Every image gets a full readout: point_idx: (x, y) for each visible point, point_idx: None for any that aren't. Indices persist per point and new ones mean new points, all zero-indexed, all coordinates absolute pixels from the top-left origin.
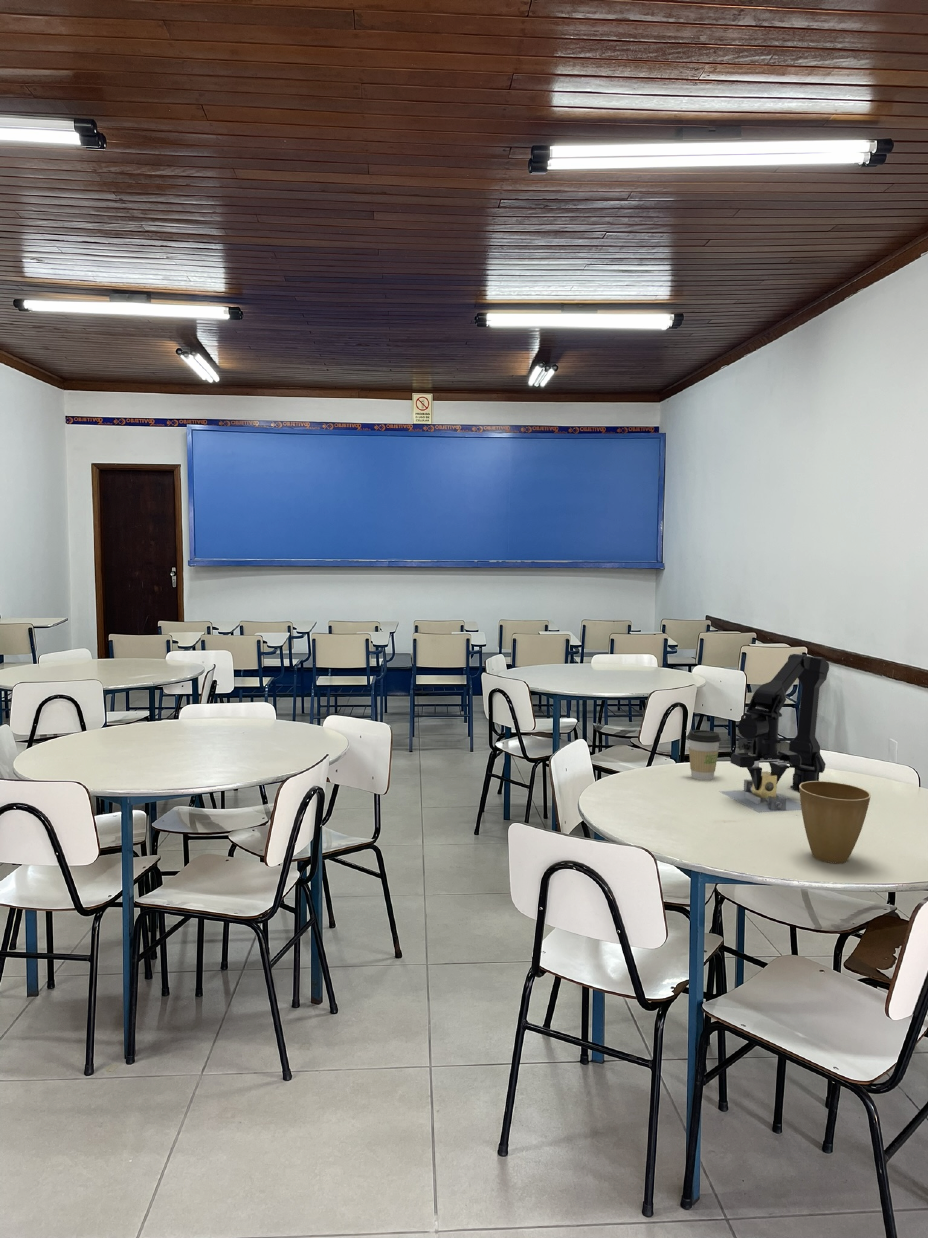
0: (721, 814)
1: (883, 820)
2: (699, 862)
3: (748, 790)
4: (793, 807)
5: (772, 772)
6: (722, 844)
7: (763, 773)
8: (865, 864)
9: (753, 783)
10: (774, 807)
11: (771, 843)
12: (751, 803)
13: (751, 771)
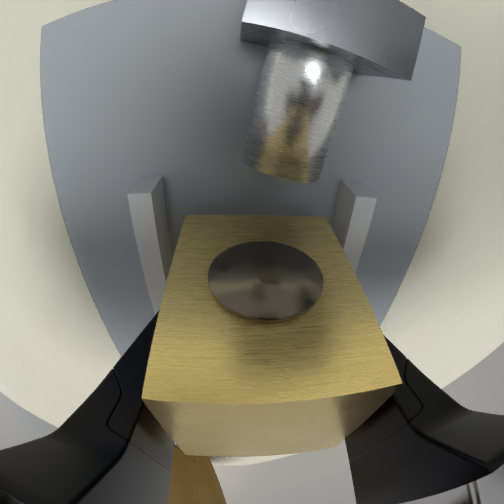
0: (22, 309)
1: (441, 372)
2: (28, 410)
3: (259, 43)
4: None
5: (383, 420)
6: (44, 402)
7: (260, 434)
8: (219, 457)
9: (146, 331)
10: None
11: None
12: (134, 292)
13: (92, 442)
